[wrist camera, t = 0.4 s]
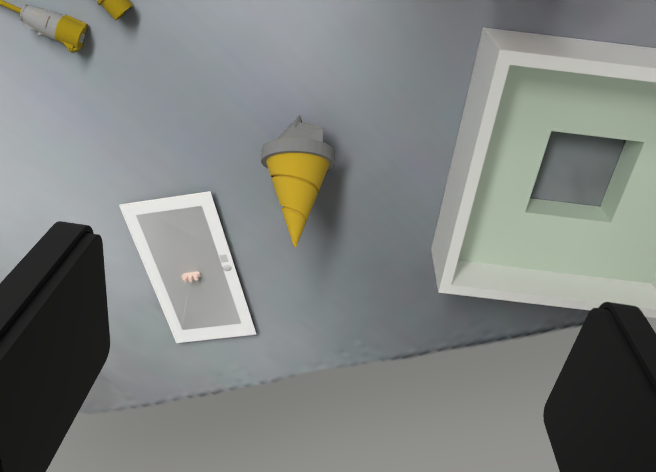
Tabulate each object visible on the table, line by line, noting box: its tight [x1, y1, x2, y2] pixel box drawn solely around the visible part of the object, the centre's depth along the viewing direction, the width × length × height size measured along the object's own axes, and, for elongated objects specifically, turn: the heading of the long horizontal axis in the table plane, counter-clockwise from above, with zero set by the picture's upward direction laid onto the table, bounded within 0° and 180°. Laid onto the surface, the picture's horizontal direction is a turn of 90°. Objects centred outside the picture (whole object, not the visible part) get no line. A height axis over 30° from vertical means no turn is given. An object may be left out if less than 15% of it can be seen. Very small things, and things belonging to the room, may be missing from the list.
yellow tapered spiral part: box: [261, 115, 335, 247], centre depth 43 cm, size 5×5×10 cm
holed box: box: [431, 27, 656, 318], centre depth 42 cm, size 18×18×6 cm
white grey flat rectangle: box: [119, 191, 256, 343], centre depth 51 cm, size 8×15×2 cm, turn 11°
